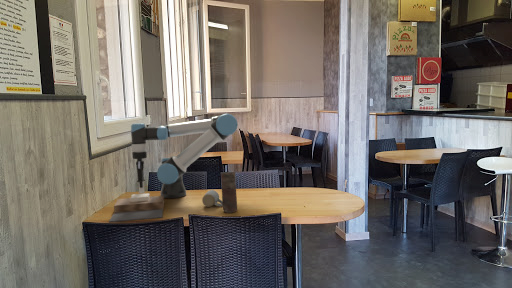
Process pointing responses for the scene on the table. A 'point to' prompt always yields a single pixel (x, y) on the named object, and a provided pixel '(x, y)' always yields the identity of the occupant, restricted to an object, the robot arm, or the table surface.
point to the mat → (136, 215)
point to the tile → (140, 197)
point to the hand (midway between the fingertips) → (141, 192)
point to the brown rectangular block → (229, 192)
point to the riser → (139, 204)
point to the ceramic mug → (211, 199)
